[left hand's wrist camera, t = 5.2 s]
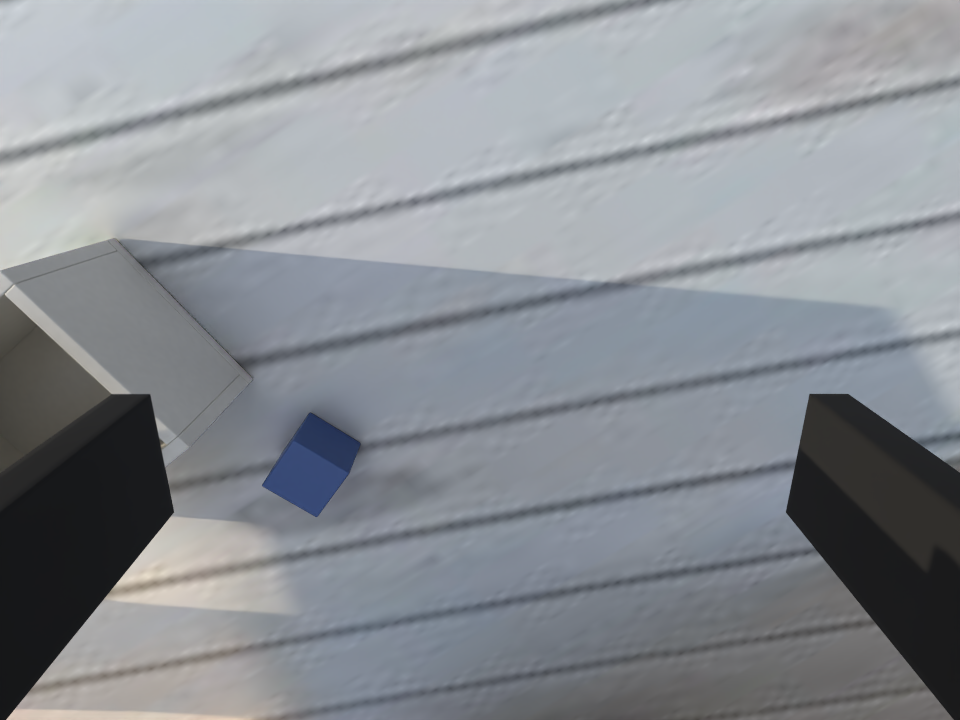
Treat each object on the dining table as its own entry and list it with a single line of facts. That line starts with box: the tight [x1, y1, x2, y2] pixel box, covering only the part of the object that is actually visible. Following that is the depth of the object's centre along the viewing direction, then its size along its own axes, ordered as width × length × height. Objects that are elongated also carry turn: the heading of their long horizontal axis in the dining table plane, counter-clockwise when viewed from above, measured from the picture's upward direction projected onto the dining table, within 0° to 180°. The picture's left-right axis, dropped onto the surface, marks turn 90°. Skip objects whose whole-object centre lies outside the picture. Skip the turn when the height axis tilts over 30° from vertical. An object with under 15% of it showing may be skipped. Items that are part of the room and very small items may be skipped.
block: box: [262, 413, 360, 517], centre depth 42 cm, size 4×4×4 cm
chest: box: [0, 238, 253, 473], centre depth 38 cm, size 17×12×10 cm
